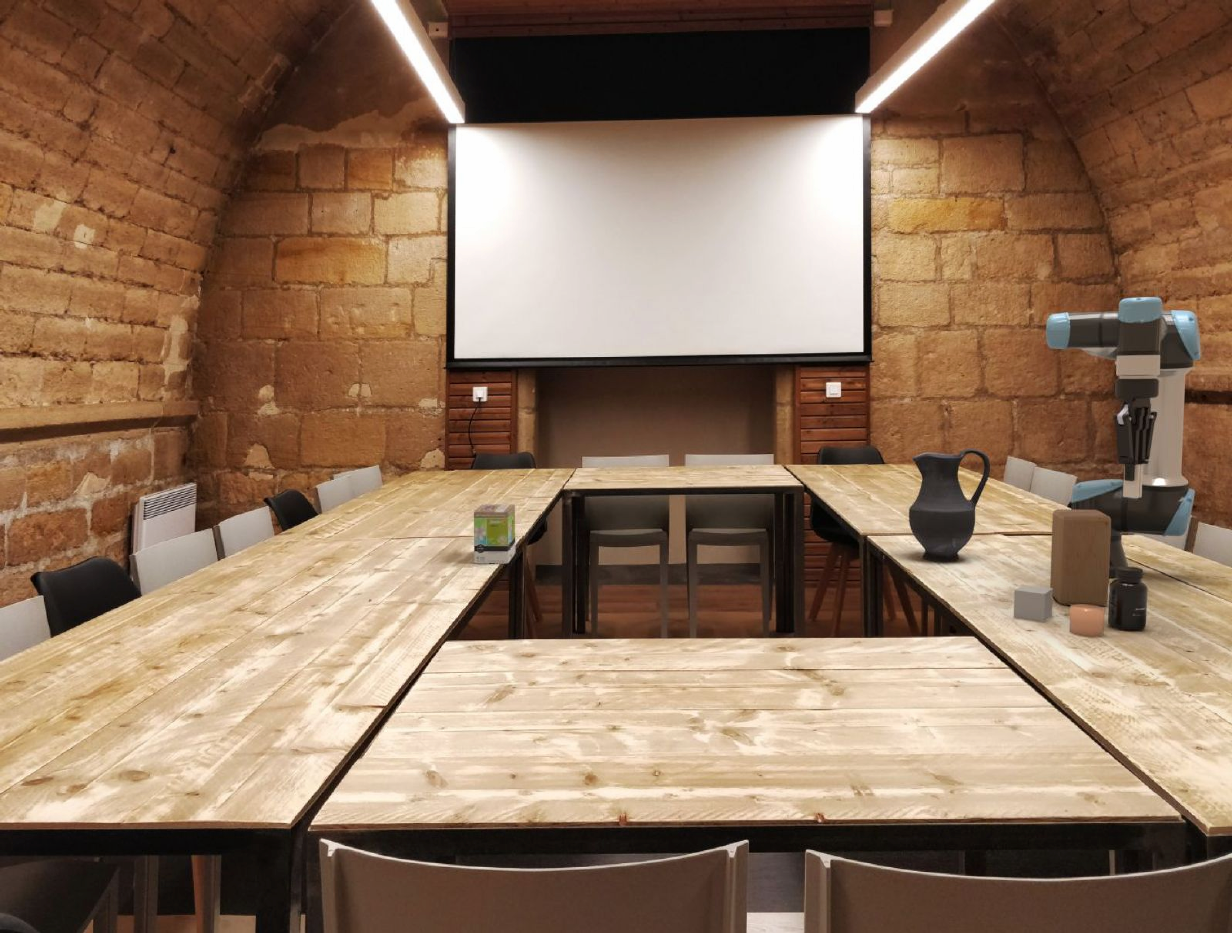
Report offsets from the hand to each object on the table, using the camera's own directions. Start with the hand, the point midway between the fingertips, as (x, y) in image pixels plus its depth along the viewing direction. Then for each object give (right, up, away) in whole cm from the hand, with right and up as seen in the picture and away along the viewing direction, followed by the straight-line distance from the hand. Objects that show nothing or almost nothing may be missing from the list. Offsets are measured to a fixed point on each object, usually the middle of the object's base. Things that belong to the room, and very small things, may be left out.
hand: (1132, 496), depth 191 cm
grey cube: (-15, -26, +12) cm, 32 cm away
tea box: (-136, -20, +81) cm, 160 cm away
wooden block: (+1, -24, +24) cm, 34 cm away
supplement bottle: (0, -26, +3) cm, 27 cm away
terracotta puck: (-9, -27, -1) cm, 28 cm away
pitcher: (-12, -19, +72) cm, 75 cm away
